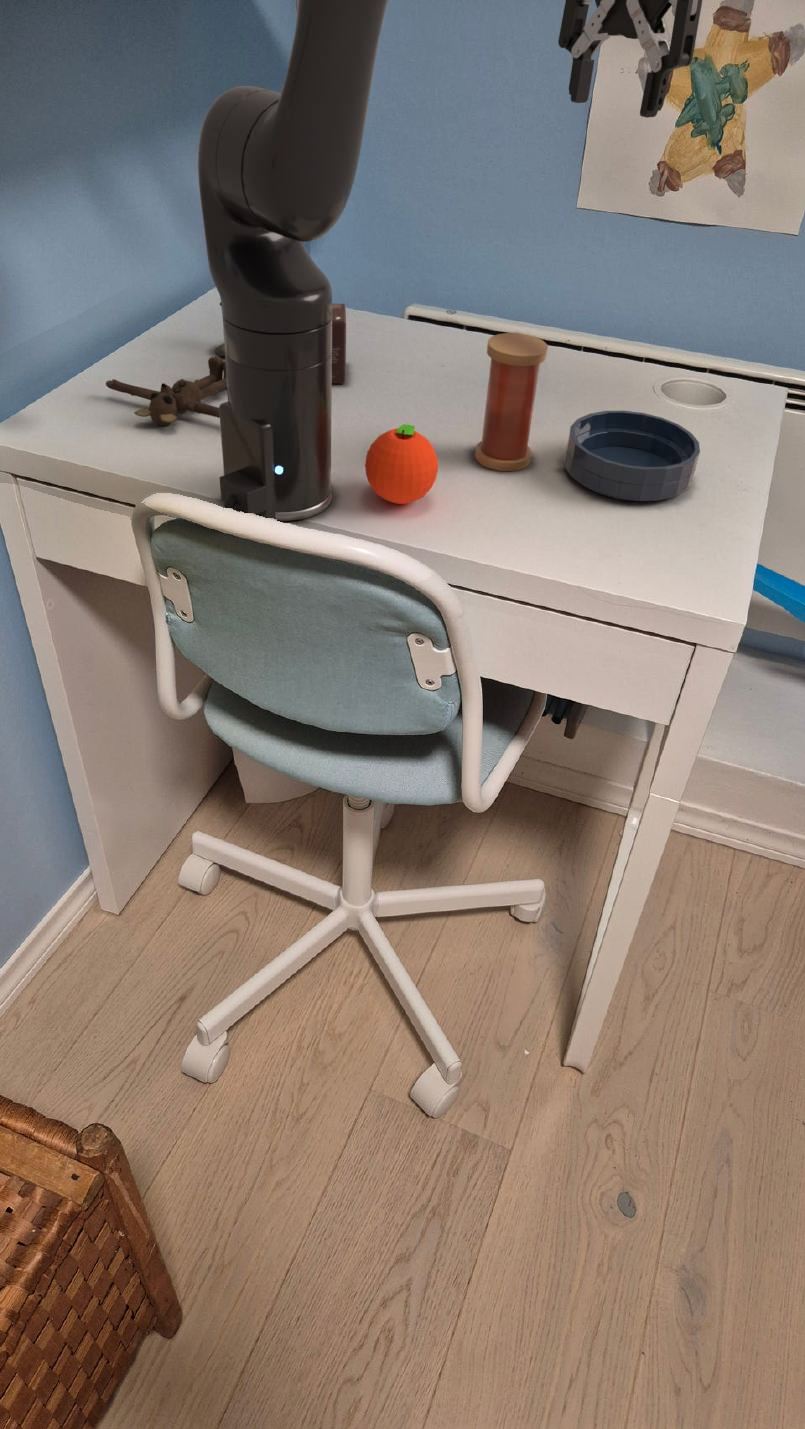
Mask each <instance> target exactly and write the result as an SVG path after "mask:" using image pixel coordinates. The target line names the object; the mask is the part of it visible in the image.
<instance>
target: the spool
mask: <svg viewBox="0 0 805 1429" xmlns="http://www.w3.org/2000/svg"><path fill="white" fill-rule="evenodd" d="M548 349H549V347H548V344H547V343H546V342H545V341H544V340H542V339H541V338H539V337H536V336H535V335H530V334H526V333H520V332H519V333H517V332H505V333H498V334H494V335H492V336H491V337H489V338H488V340H487V345H486V354H487V356H488V357H489V358H490V364H489V374H488V381H487V382H488V383H487V390H486V398H485V409H484V417H483V427H482V433H481V434H482V435H481V440H480V441H479V442H478V443H477V444H476V446H475V454H474V458H475V460H476V462H478V463H479V464H480V465H481V466H483V467H485V468H488V469H490V470H493V471H499V472H516V471H521V470H523V469H525V468H527V467H528V466H529V465H530V463H531V460H532V453H533V452H532V450H531V447H530V446H529V440H530V434H531V427H532V421H533V415H534V414H533V413H534V407H535V400H536V393H537V387H538V380H539V372H540V367H541V363H543V362H545V361H546V359H547V354H548Z"/></svg>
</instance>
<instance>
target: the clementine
mask: <svg viewBox="0 0 805 1429" xmlns="http://www.w3.org/2000/svg"><path fill="white" fill-rule="evenodd" d="M415 428H416V425H414V424H413V425H412V424H405V423H404V424H401V425H400V426H398V427H397V428H393V429H389V430H387V431H386V432H384V433H382V434H380V435H379V436H378V437H377V438H376V439H375V440H374V441H373V442H372V443H371V444H370V446H369V448H368V451H367V453H366V457H365V463H364V467H365V468H364V469H365V470H364V472H365V476H366V479H367V481H368V484H369V487H370V488H372V490H373V491H374V492H375V493H376V494H377V496H379V497H380V498H382V499H383V500H385V501H387V502H390V503H393V504H397V505H406V504H410V503H413V502H416V501H418V500H420V499H422V498H423V497H424V496H425V495H427V494H428V492H429V491H430V490H431V489H432V487H433V486H434V484H435V482H436V480H437V476H438V470H439V462H438V460H439V459H438V456H437V453H436V452H435V448H434V446H433V444H432V443H431V442H430V441H429V440H428V438H427V437H425V435H423V434H421V433H420V432H418V431H416V430H415Z"/></svg>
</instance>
